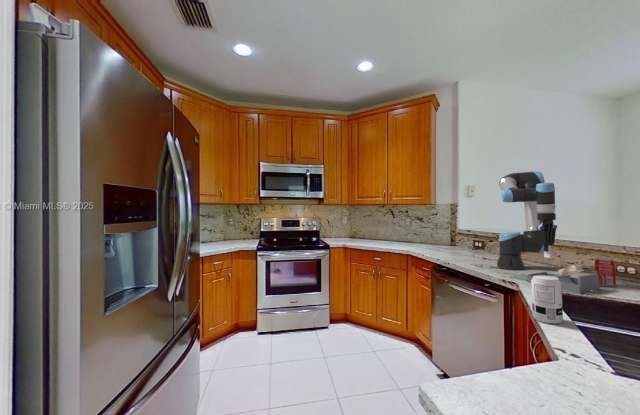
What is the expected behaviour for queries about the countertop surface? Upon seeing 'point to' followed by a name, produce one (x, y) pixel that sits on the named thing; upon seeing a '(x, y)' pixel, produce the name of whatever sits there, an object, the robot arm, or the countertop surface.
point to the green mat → (520, 277)
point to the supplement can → (547, 299)
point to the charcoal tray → (574, 282)
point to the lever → (568, 274)
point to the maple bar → (569, 269)
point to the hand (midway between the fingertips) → (547, 257)
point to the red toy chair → (605, 271)
